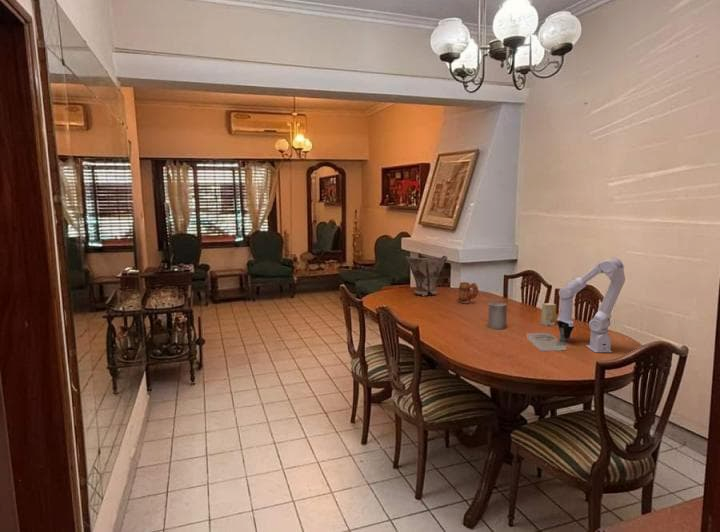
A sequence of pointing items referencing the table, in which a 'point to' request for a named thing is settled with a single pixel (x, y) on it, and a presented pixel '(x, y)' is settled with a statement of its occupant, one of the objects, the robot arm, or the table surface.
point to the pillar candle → (497, 315)
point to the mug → (467, 292)
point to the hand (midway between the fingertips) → (564, 336)
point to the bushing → (563, 336)
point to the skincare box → (548, 314)
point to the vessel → (426, 273)
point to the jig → (546, 342)
